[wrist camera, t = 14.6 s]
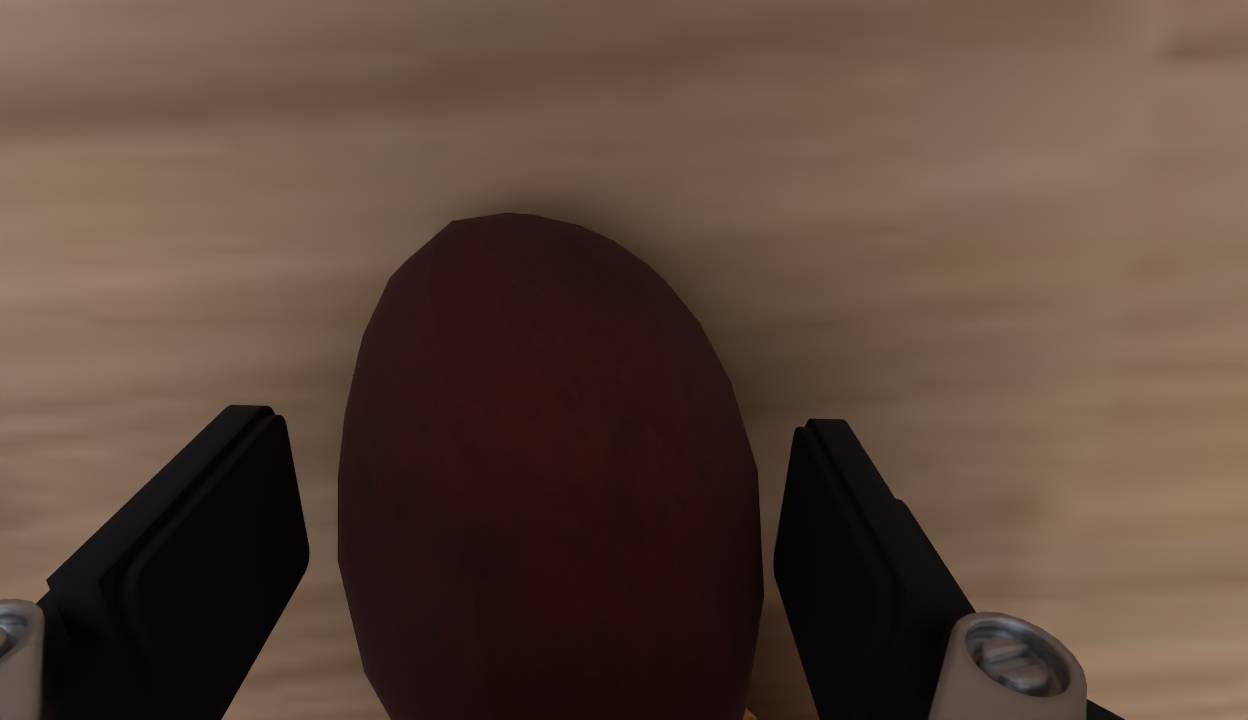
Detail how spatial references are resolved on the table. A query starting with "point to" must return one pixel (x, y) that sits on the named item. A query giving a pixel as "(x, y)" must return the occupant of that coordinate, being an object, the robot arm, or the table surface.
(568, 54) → the table surface
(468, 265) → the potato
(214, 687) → the robot arm
